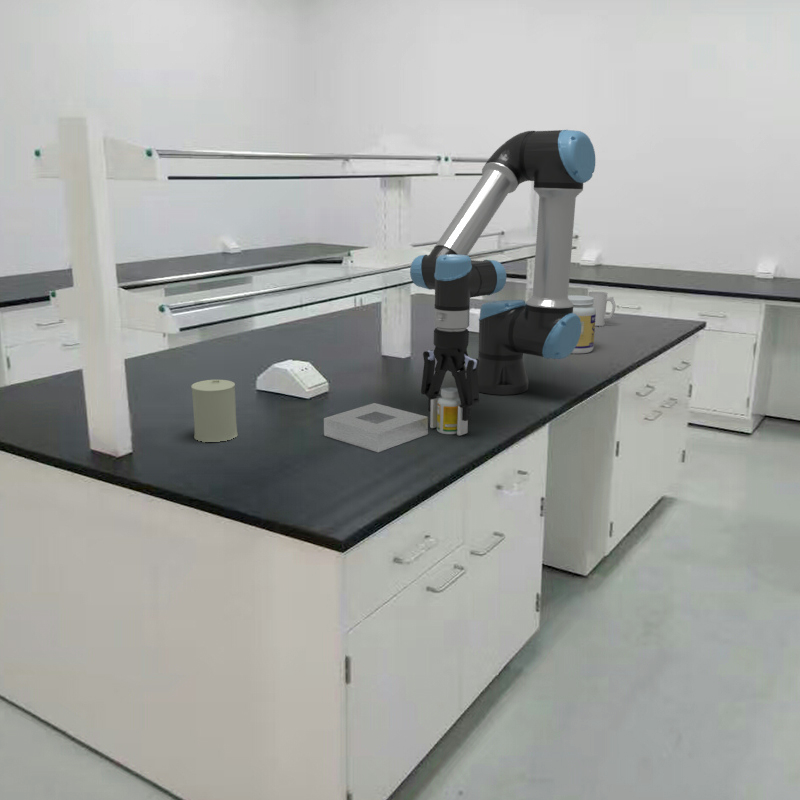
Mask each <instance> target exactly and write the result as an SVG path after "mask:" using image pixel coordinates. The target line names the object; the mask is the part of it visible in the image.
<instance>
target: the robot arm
mask: <svg viewBox="0 0 800 800" xmlns="http://www.w3.org/2000/svg"><path fill="white" fill-rule="evenodd" d="M594 147H595V146H594V145H593V143H592V141H591V138H590V137H589V136H588V135H587V134H586V133H585V132H583V131H581V130H570V129H562V130H561V129H560V130H558V129H556V130H527V131H523V132H520V133H518V134H515V135H514V136H513V137H510V138H509V139H507V140H506V141H505V142H504V143H503V144H501V145H500V146H499V147H498V148H497V149H496V150H495V151H494V152H493V153H492V154H491V156H490V157H489V159H487V161H486V163H485V164H484V166H482V170H481V175H482V176H481V177H480V179H479V181H478V182H477V183H476V185H475V186H474V188H473V189H472V191H471V192H470V194H469V195H468V197H467V198H466V199H465V201H464V203H463V204H462V206H461V207H460V208H459V210H458V211H457V213H456V214H455V216H454V218H453V219H452V220H451V222H450V223H449V224H448V226H447V228H446V229H445V231H444V232H443V233H442V235H441V237H440V238H439V240H438V241H437V243H436V244H435V246H434V247H433V249H432V250H431V252H430V253H429V254H421V255H418V256H416V257H415V258H414V259H413V260H412V262H411V264H410V267H409V268H410V270H409V273H410V278H411V281H412V283H413V284H414V285H415V286H416V287H418V288H423V289H427V290H434V311H433V313H434V318H433V325H434V327H435V328H434V329H433V345H434V349H430V350H429V349H428V350H426V351H423V353H422V356H423V362H424V363H423V370H422V371H423V372H422V379H421V389H420V392H421V395H425V396H426V397H427V398H428V401H427V402H428V405H427V406H428V409H427V411H428V412H429V413H430V414H429V415H430V416H429V417H430V419H429V420H430V421H429V428H431V429H435V428H437V404H438V399H439V398H440V396H441V394H440V392H441V389H442V385H443V384H444V383H443V382H444V379H445V376H446V374H447V372H449V373H450V372H451V376H452V377H453V378H454V382H455V385H456V388H457V390H458V394H459V396H458V398H460V402H461V405H459V406H458V424H457V434H456V435H457V436H463V435H466V434H468V428H469V426H468V423H469V422H468V421H470V420H471V415H472V414H471V413H472V410H471V409H472V408H471V407H472V406H475V405H477V404H479V402H480V395H479V393H483V394H489V395H499V396H506V395H507V396H509V395H517V394H522V393H525V392H527V391H528V390H529V377H528V374H527V370H526V367H525V363H524V354H525V355H531V356H536V357H542V358H544V359H547V360H548V359H549V360H550V359H552V360H562V359H566V358H568V357H569V356H570V355H571V354H573V353H572V352H573V350H574V348H575V347H576V345H577V343H578V341H579V338H580V334H581V321H580V318H579V316H578V315H576V314H574V313H573V303H572V302H571V301H570V300H569V299H568V295H569V287H570V273H571V261H572V251H573V249H572V248H573V237H574V236H573V234H574V224H575V212H576V211H575V210H576V200H577V197H578V196H579V195H580V194H581V193H582V192H583V191H584V183H587V182H589V181H590V180H591V179H592V178H593V174H594V172H595V168H596V152H595V148H594ZM525 182H533V191H535V193H536V194H537V195H538V197H539V198H538V211H537V213H538V215H537V223H536V224H537V225H536V226H537V228H536V240H535V242H536V243H535V256H534V268H533V270H534V272H533V284H532V296H531V297H530V298H529V299H528V300H527V301H525V300H524V299H505V300H504V299H502V300H495V301H494V300H493V301H488V302H485V303H483V304H482V305H481V307H480V309H479V319H478V321H479V323H478V324H479V326H478V358H472V357H470V356H469V354H468V350H467V349H468V346H469V343H470V341H469V339H470V337H469V336H470V335H469V334H470V331H469V328H470V311H471V310H470V307H471V306H470V304H471V303H470V302H471V301H470V300H471V298H476V297H483V296H491V295H494V294H497V293H499V292H501V291H502V290H503V289H504V288H505V285H506V284H507V272H506V269H505V267H504V265H503V264H502V262H501V263H500V261H498V260H494V259H492V260H490V259H483V260H474V259H473V260H472V258H471V257H470V256H469V254H470V252H471V250H472V249H473V248H474V246H475V244H476V243H477V242H478V240H479V238H480V237H481V235H482V233H483V232H484V231H485V229H486V227H488V225H489V223H490V222H491V220H492V219H493V217H494V215H495V214H496V212H497V211H498V209H499V208H500V206H501V205H502V204H503V202H504V200H505V199H506V198H507V196H508V195H509V194H511V193H513V192H515V191H516V190H517V188H518V187H519V185H520V184H522V183H525Z"/></svg>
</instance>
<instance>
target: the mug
mask: <svg viewBox="0 0 800 800" xmlns="http://www.w3.org/2000/svg"><path fill="white" fill-rule="evenodd" d="M587 292H588V295H587V296H589V297H593V298H594V304H593V305H592V306H593V307H595V309H596V318H595V325H604V326H605V325H606V324H605V322H606V320H607V319H608V320H611V319H612V317H613V315H614V314H615V312H616V302H615V299H614V296H609V297H608V295H609V294H608V292H606V291H600V290H599V291H594V290H593V291H587ZM608 302H610V303H611V305H612V308H611V312H610V313H609V314H607V313H606V312H607V303H608Z"/></svg>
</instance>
